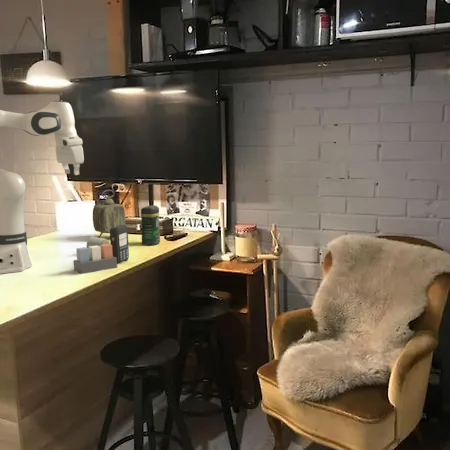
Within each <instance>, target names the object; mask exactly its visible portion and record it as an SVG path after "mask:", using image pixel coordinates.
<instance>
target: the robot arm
mask: <svg viewBox="0 0 450 450" xmlns="http://www.w3.org/2000/svg"><path fill="white" fill-rule="evenodd" d="M75 121H76V120H75V115H74V110H73V108H72V105H71V104H70V103H69V101H65V100H52V101H50V102H49V104H48V105H46V106H45V107H43V108H42V109H41V108H40V110H33V111H29V112H26V113H19V112H12V111H7V110H1V109H0V127H2V128H3V127H4V128H9V129H18V130H22V131H24V132H25V133H27V134H29V135H31V136H36V137H37V136H38V137H40V136H47V135H50V134H52V133H53V134H54V141H55V157H56V161H57V163H58V164H61V166H62V168H63V170H64V173H65V174H67V175H70V174H71V170H70V167H69V165H73V175H74V176H78V175H80V167H81V165H82V164H84V162H85V161H84V160H85V156H84V148H83V139H82V138H81V137H79V135H78V134H77V129H76V127H75V124H76V122H75ZM26 187H27V186H26V182H25V180H24V178H23V177H22V176H21V175H20V174H19V173H16V172H12V171H9V170H6V169H3V168H1V167H0V274H1V275H2V274H10V273H16V272H17V273H18V272H22V271H25V270H26V269H28V268H31V267H32V266H33V264H32V262H31V259H30V256H29V251H28V235H27V231H26V228H25V227H26V226H25V214H24V212H25V211H24V210H25V198H26V197H25V192H26Z"/></svg>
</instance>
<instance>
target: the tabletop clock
mask: <svg viewBox="0 0 450 450" xmlns="http://www.w3.org/2000/svg"><path fill="white" fill-rule="evenodd" d="M105 192H112V193H113V194H112V195H109V194H107V196H104V194H105ZM101 195H102V197H103V198H104V201H103V203H99V204H96V205H94V206H93V209H92V224H93V228H94V231H95V232H99V233H100V234H99V235H98V236H97V237H98V238H102V237H101V236H102V235H103V234H110V229H111V228H113V227H116V226H119V225H126V211H125V208H124V205H123V204H119V203H115V202H114V200H113V197H114V196H115V191H114V190H112V189H105V190H104V191H103V192H102V193H101Z"/></svg>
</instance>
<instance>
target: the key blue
mask: <svg viewBox="0 0 450 450" xmlns="http://www.w3.org/2000/svg"><path fill="white" fill-rule="evenodd" d="M76 260H77V262H80V263H82V262H88V261H89V249H88V248H87V246H84V247H79V248H77V247H76Z"/></svg>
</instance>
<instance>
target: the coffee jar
mask: <svg viewBox="0 0 450 450" xmlns="http://www.w3.org/2000/svg"><path fill="white" fill-rule="evenodd" d="M140 219H141V244H142V245H145V246H152V245H153V246H155V245H158V244H159V243H161V234H160V208H159V207H158V206H157V205H154V204H153V205H152V204H149V205H148V206H144V207H142V208H141V209H140Z"/></svg>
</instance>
